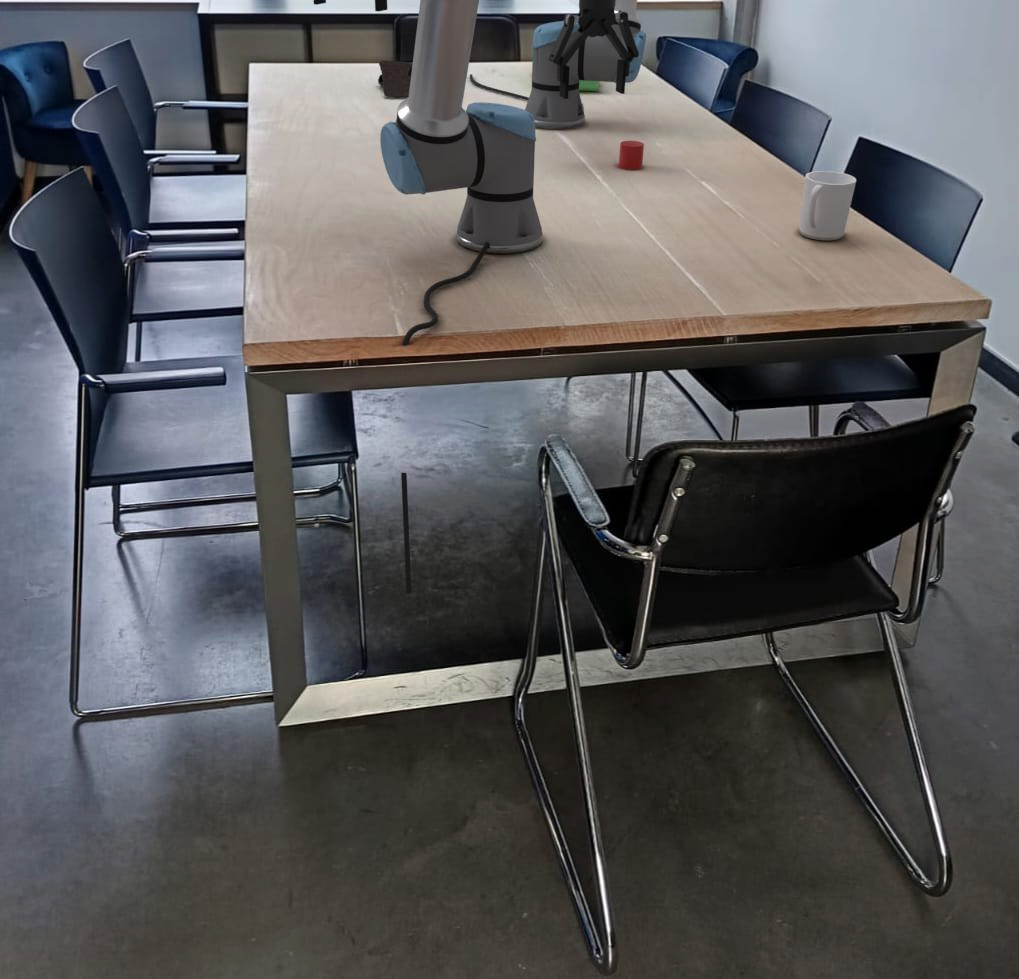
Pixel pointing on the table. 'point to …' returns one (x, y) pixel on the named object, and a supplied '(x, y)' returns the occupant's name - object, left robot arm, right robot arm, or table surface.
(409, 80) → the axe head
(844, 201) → the mug
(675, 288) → the table surface
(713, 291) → the table surface
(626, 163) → the red cylinder
